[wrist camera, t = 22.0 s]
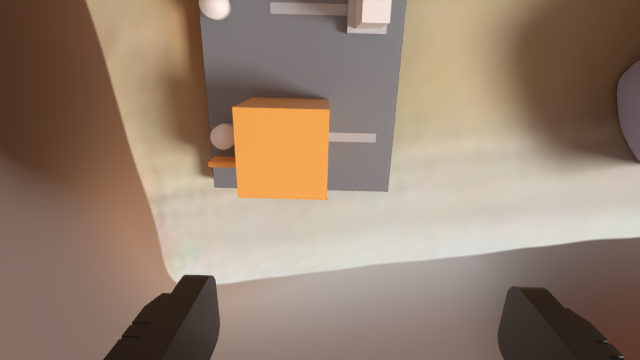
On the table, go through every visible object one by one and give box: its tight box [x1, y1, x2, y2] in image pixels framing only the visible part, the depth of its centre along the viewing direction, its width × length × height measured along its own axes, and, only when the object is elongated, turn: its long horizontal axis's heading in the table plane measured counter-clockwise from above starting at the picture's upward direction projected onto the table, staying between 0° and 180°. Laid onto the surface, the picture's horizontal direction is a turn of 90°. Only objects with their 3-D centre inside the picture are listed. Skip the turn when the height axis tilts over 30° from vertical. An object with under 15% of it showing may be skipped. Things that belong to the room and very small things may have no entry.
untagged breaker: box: [346, 0, 392, 35], centre depth 24 cm, size 3×3×5 cm
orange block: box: [232, 97, 330, 200], centre depth 26 cm, size 6×6×7 cm
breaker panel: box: [199, 0, 406, 192], centre depth 28 cm, size 16×20×4 cm
